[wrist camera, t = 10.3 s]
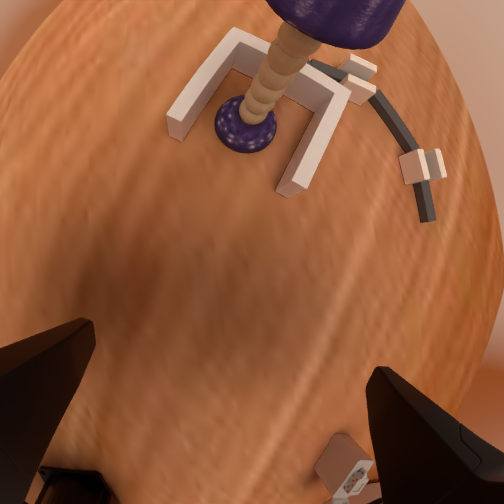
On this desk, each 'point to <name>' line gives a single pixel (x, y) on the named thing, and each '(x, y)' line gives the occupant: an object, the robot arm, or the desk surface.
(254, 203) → the desk surface
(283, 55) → the toy lamp
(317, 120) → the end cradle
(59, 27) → the desk surface
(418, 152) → the clip
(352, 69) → the clip
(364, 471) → the lighter
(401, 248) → the desk surface
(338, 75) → the cable run
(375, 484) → the supplement can
